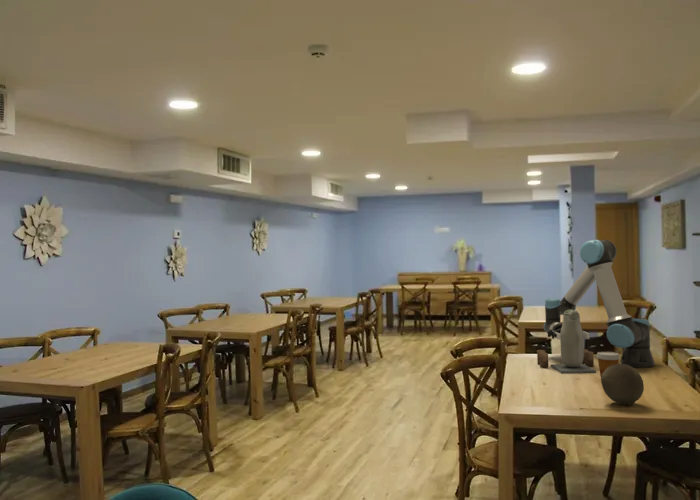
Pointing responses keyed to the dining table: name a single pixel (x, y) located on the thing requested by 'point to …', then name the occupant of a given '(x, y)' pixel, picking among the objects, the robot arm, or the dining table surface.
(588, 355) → the cylinder
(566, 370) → the mat
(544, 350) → the cylinder
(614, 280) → the robot arm
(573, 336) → the grey ceramic vase
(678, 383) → the dining table surface
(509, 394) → the dining table surface
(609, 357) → the disposable coffee cup
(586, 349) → the cylinder
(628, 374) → the coconut
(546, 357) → the cylinder
